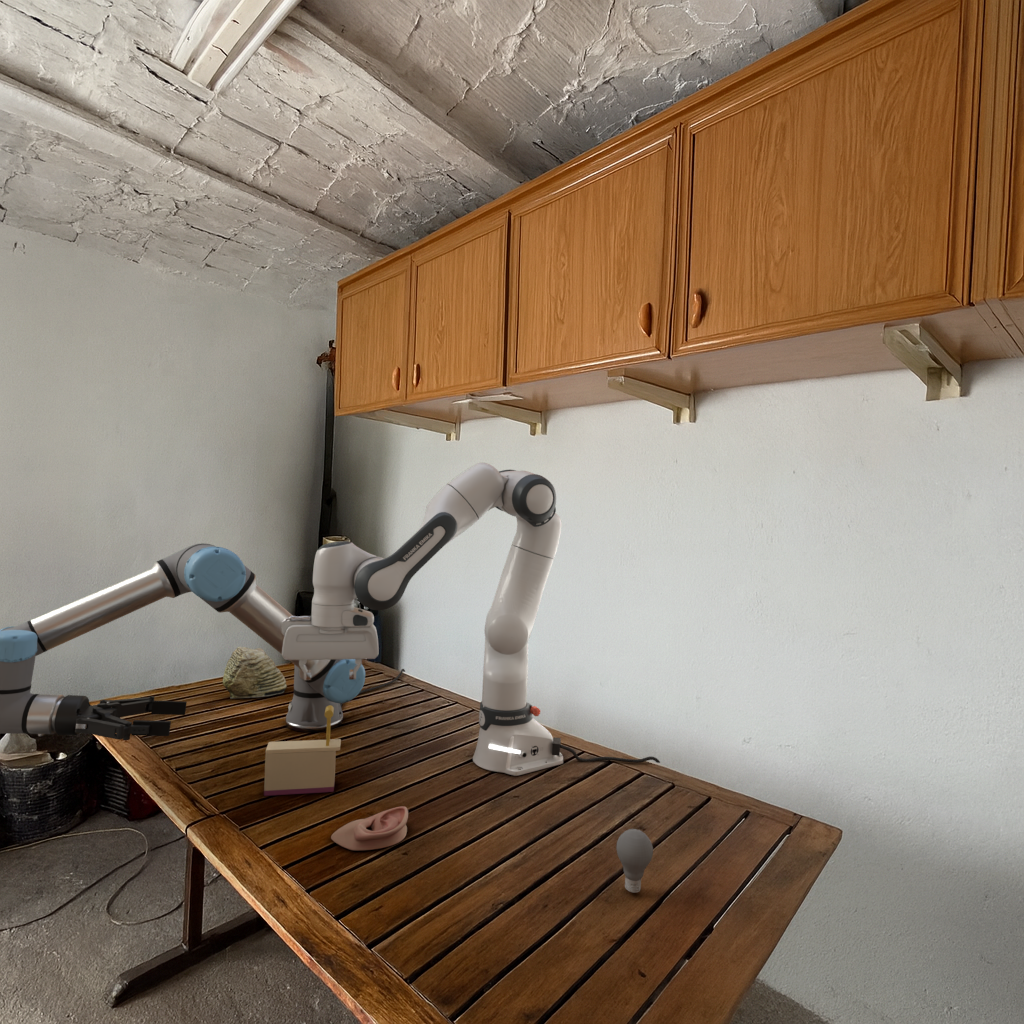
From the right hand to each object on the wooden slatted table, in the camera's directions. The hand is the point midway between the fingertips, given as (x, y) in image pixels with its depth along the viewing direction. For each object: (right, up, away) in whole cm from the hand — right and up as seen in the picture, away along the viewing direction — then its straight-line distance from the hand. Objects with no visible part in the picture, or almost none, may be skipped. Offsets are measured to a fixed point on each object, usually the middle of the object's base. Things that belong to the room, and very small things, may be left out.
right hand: (330, 679), depth 138 cm
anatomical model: (+13, -25, -19) cm, 33 cm away
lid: (-5, -15, -1) cm, 16 cm away
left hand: (-30, -6, -6) cm, 31 cm away
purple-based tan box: (-6, -24, -1) cm, 24 cm away
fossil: (-41, -21, +60) cm, 76 cm away
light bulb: (+60, -27, -32) cm, 73 cm away
